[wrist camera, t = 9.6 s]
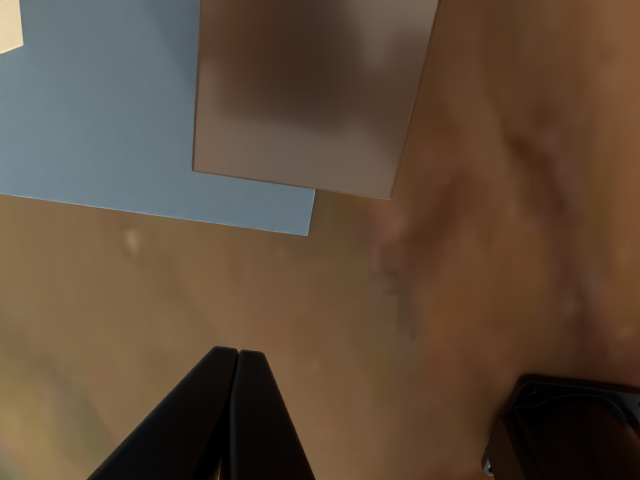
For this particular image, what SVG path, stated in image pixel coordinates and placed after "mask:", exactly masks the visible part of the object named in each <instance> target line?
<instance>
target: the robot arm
mask: <svg viewBox="0 0 640 480" xmlns="http://www.w3.org/2000/svg"><path fill="white" fill-rule="evenodd" d="M529 386H531V387H529ZM527 387H529V388H527ZM485 451H486V453H485V455H484V457H483V459H482V462H481V466H482V469H483V472H484V474H486V475H488V476H494V479H495V480H640V389H638V388H630V387H622V386H613V385H605V384H597V383H588V382H580V381H572V380H563V379H555V378H547V377H538V376H525V377H523V378H521V379H520V380H519V381H518V383H517V385H516V387H515V389H514V391H513V394H512V396H511V398H510V400H509V402H508V405H507V407H506V409H505V411H504V413H503V414H502V415H501V416H500V418H499V420H498V423H497V425H496V427H495V429H494V431H493V434H492V436H491V438H490V440H489V442H488V445H487V447H486V449H485ZM219 471H220V474H219ZM218 476H219V480H316V479H315V477H314V474H313V472H312V470H311V467H310V465H309V462H308V460H307V457H306V455H305V452H304V450H303V447H302V445H301V443H300V440H299V438H298V435H297V433H296V430H295V428H294V425H293V423H292V420H291V418H290V416H289V413H288V411H287V408H286V406H285V403H284V401H283V398H282V396H281V394H280V391H279V389H278V386H277V384H276V381H275V379H274V376H273V374H272V371H271V369H270V367H269V364H268V362H267V359H266V357H265V355H264V353H262V352H259V351H251V350H241V351H240V352H239V354H238V350H237V349H235V348H229V347H222V346H215V347H213V348H212V349H211V350H210V351H209V352H208V353H207V354H206V355H205V356H204V357H203V358H202V359H201V360H200V362H199V363H198V364H197V365H196V366H195V367H194V368H193V369H192V370H191V371H190V372H189V373H188V374H187V375H186V376H185V377H184V378H183V379H182V380H181V381H180V382H179V384H178V385H177V386H176V387H175V388H174V389H173V390H172V391H171V392H170V393H169V394H168V395H167V396H166V397H165V398H164V399H163V400H162V401H161V402H160V403H159V404H158V405H157V407H156V408H155V409H154V410H153V411H152V412H151V413H150V414H149V415H148V416H147V417H146V418H145V419H144V420H143V421H142V422H141V423H140V424H139V425H138V426H137V427H136V428H135V430H134V431H133V432H132V433H131V434H130V435H129V436H128V437H127V438H126V439H125V440H124V441H123V442H122V443H121V444H120V445H119V446H118V447H117V448H116V449H115V450H114V451H113V453H112V454H111V455H110V456H109V457H108V458H107V459H106V460H105V461H104V462H103V463H102V464H101V465H100V466H99V467H98V468H97V469H96V470H95V471H94V472H93V473H92V474H91V476H90V477H89V478H88V479H87V480H218Z"/></svg>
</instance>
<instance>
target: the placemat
mask: <svg viewBox="0 0 640 480" xmlns="http://www.w3.org/2000/svg"><path fill="white" fill-rule="evenodd" d="M19 4H20V14H21V25H22V35H23V45H22V46H20V47H17V48H14V49H12V50H9V51H6V52H4V53H1V54H0V194H6V195H13V196H20V197H28V198H35V199H42V200H49V201H57V202H64V203H71V204H78V205H86V206H93V207H100V208H107V209H115V210H122V211H129V212H136V213H143V214H151V215H158V216H165V217H172V218H180V219H187V220H194V221H201V222H209V223H216V224H223V225H230V226H238V227H245V228H252V229H259V230H266V231H274V232H281V233H288V234H295V235H303V236H307V235H308V231H309V225H310V219H311V214H312V208H313V202H314V196H315V189H308V188H301V187H295V186H288V185H281V184H274V183H267V182H260V181H253V180H247V179H240V178H233V177H226V176H219V175H212V174H205V173H199V172H193V171H192V168H191V167H192V148H193V128H194V109H195V89H196V70H197V50H198V31H199V11H200V0H19Z"/></svg>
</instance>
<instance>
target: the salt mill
mask: <svg viewBox="0 0 640 480" xmlns="http://www.w3.org/2000/svg"><path fill="white" fill-rule="evenodd" d="M22 45H23V35H22V25H21V14H20V4H19V0H0V54H1V53H4V52H6V51H9V50H12V49H14V48H17V47H20V46H22Z"/></svg>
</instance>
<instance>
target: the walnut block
mask: <svg viewBox="0 0 640 480" xmlns="http://www.w3.org/2000/svg"><path fill="white" fill-rule="evenodd" d="M440 2H441V0H200V11H199V31H198V50H197V70H196V89H195V109H194V128H193V148H192V167H191V168H192V171H193V172H199V173H205V174H212V175H219V176H226V177H233V178H240V179H247V180H253V181H260V182H267V183H274V184H281V185H288V186H295V187H301V188H308V189H315V190H322V191H329V192H336V193H343V194H349V195H356V196H363V197H370V198H377V199H384V200H390V199H391V198H392V195H393V191H394V187H395V183H396V179H397V175H398V170H399V166H400V162H401V158H402V154H403V150H404V146H405V142H406V138H407V134H408V130H409V126H410V122H411V118H412V114H413V110H414V106H415V102H416V98H417V94H418V90H419V86H420V82H421V78H422V74H423V70H424V66H425V62H426V58H427V54H428V50H429V46H430V42H431V38H432V34H433V30H434V26H435V22H436V18H437V14H438V10H439V6H440Z"/></svg>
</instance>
